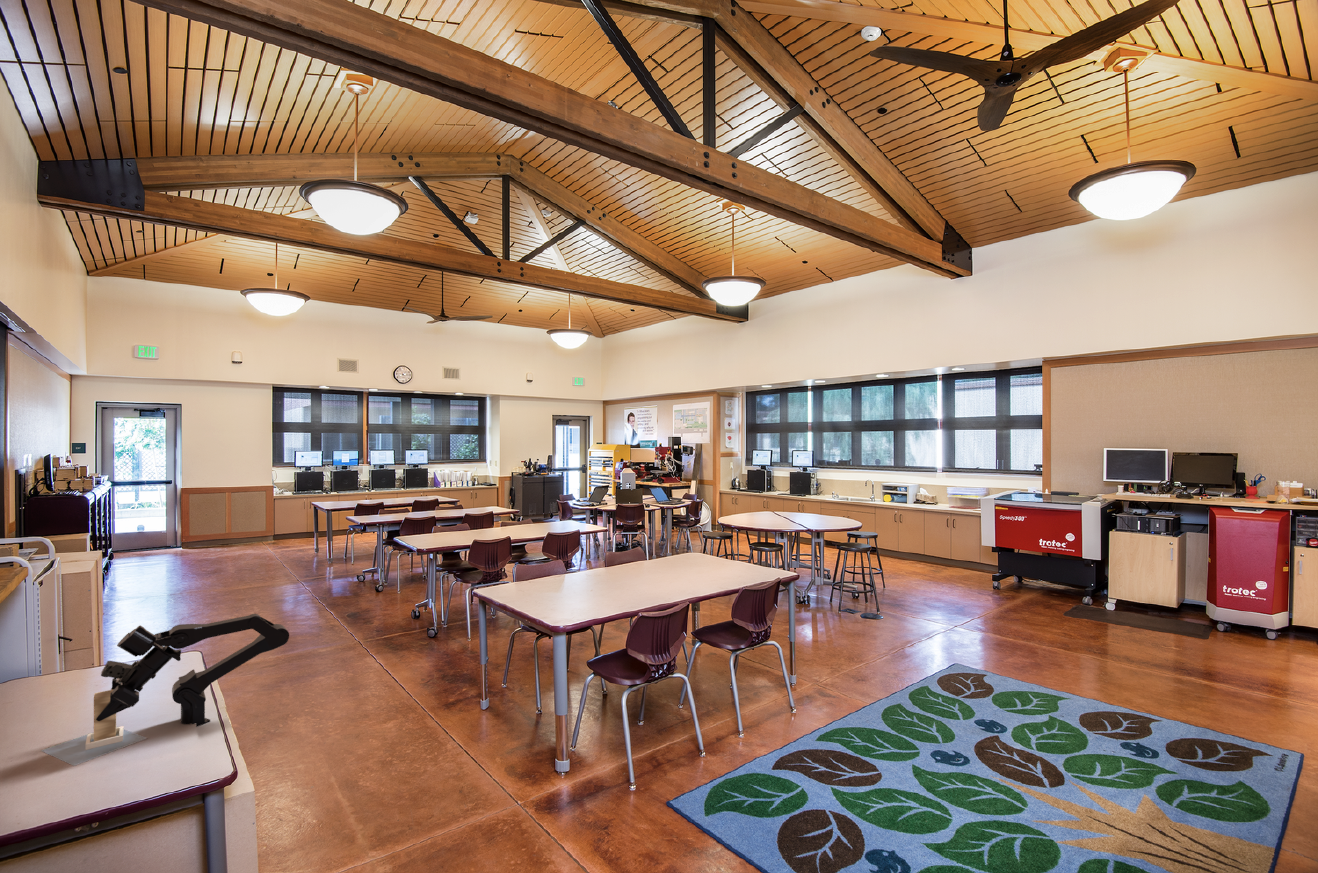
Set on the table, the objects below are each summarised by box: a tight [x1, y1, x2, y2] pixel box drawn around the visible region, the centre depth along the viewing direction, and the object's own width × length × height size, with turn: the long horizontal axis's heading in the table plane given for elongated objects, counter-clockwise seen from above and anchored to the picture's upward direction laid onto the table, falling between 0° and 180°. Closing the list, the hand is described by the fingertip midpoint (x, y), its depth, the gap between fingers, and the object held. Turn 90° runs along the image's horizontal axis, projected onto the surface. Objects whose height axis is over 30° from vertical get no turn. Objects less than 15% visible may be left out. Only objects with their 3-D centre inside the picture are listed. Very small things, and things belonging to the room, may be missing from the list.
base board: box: [40, 725, 148, 767], centre depth 169 cm, size 18×16×1 cm
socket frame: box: [85, 725, 125, 750], centre depth 171 cm, size 8×8×2 cm
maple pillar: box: [93, 689, 117, 741], centre depth 171 cm, size 4×4×13 cm
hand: (98, 714), depth 170 cm, fingers open, 9 cm apart
